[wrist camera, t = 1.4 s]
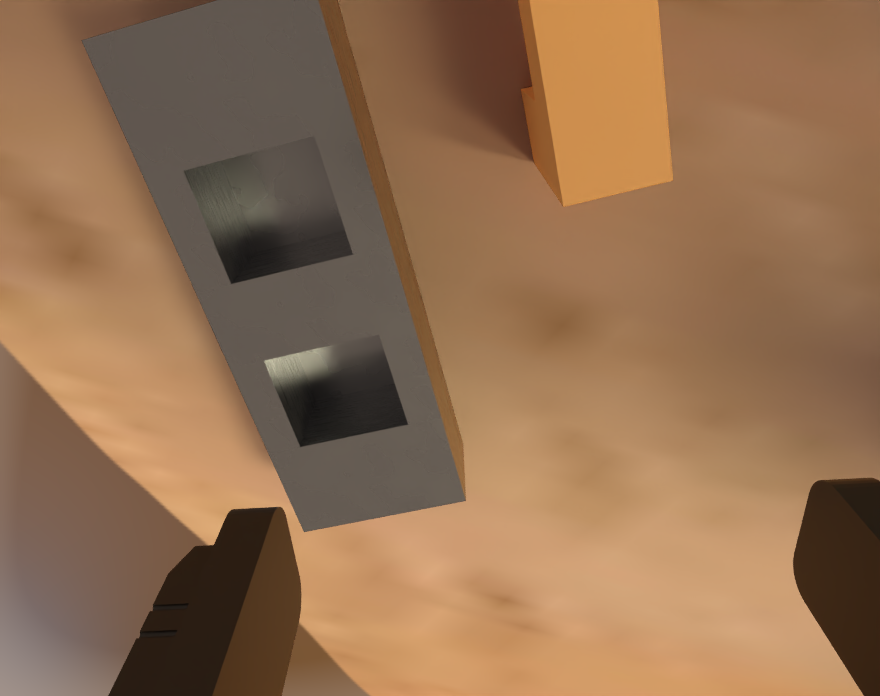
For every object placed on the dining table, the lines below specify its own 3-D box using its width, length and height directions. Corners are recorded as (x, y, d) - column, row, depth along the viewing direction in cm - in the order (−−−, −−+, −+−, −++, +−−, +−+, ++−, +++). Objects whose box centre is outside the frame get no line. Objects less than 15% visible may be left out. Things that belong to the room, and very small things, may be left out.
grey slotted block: (331, -19, 24) (310, -28, 20) (463, 444, 34) (465, 500, 30) (139, 38, 25) (81, 40, 21) (320, 473, 35) (303, 532, 31)
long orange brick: (577, -178, 22) (634, -266, 15) (615, 142, 27) (673, 180, 20) (478, -148, 23) (493, -221, 16) (534, 162, 27) (563, 207, 21)
